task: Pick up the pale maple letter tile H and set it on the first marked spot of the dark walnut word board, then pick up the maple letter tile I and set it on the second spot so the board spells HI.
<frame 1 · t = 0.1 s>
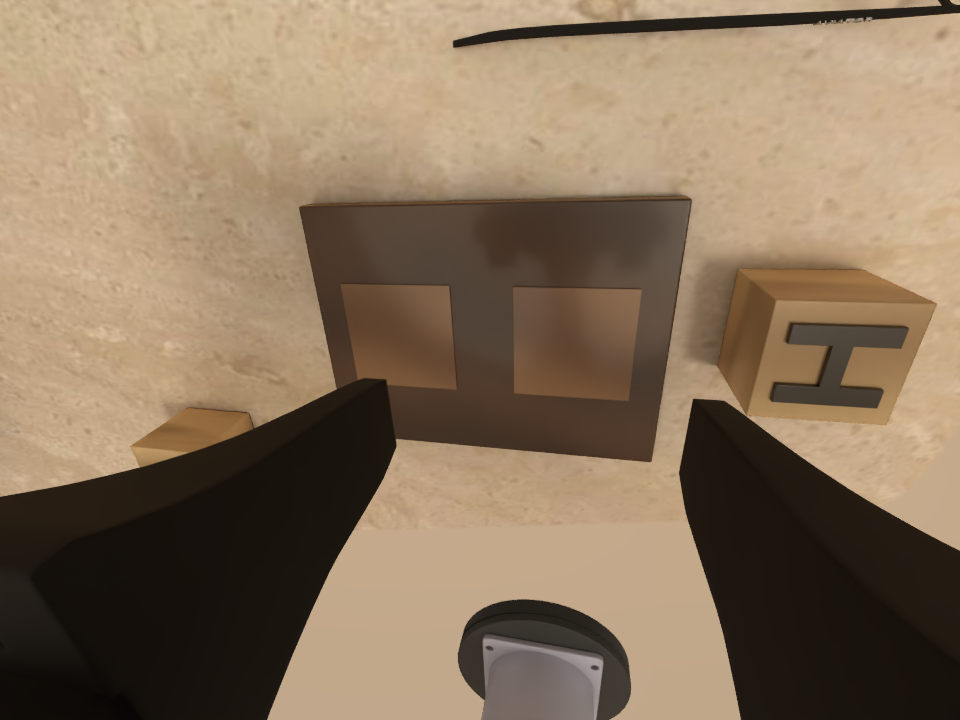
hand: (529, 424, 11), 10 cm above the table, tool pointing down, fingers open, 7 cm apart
word board: (487, 332, 21), on the table
tile H: (785, 321, 18), on the table
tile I: (227, 439, 28), on the table
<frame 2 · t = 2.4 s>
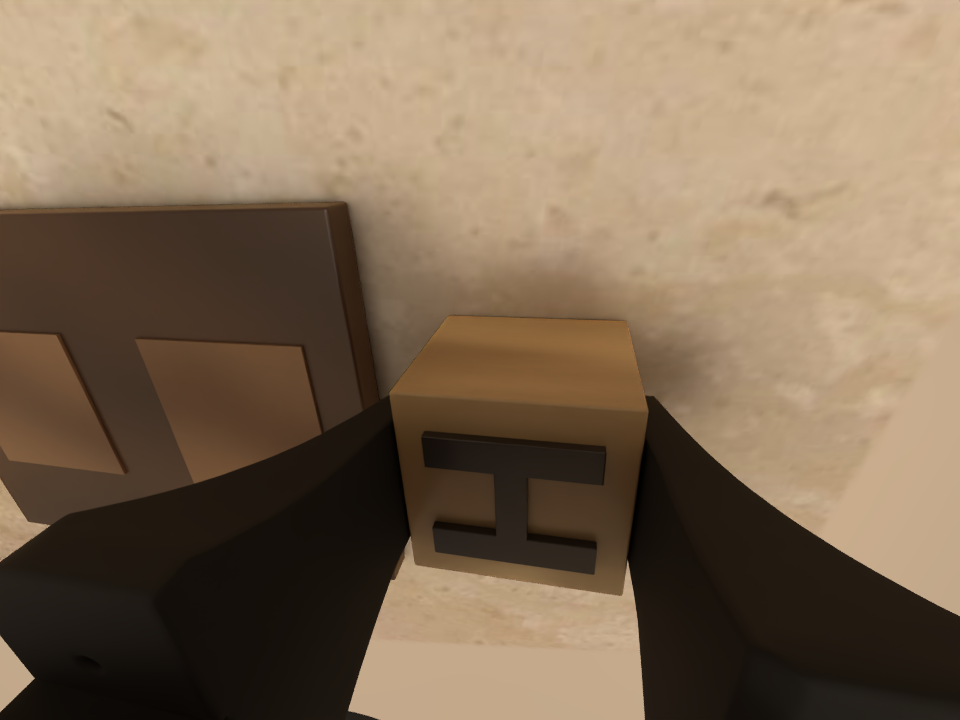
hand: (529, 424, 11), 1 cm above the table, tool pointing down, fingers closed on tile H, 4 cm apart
word board: (158, 396, 15), on the table
tile H: (533, 394, 12), on the table, touching gripper
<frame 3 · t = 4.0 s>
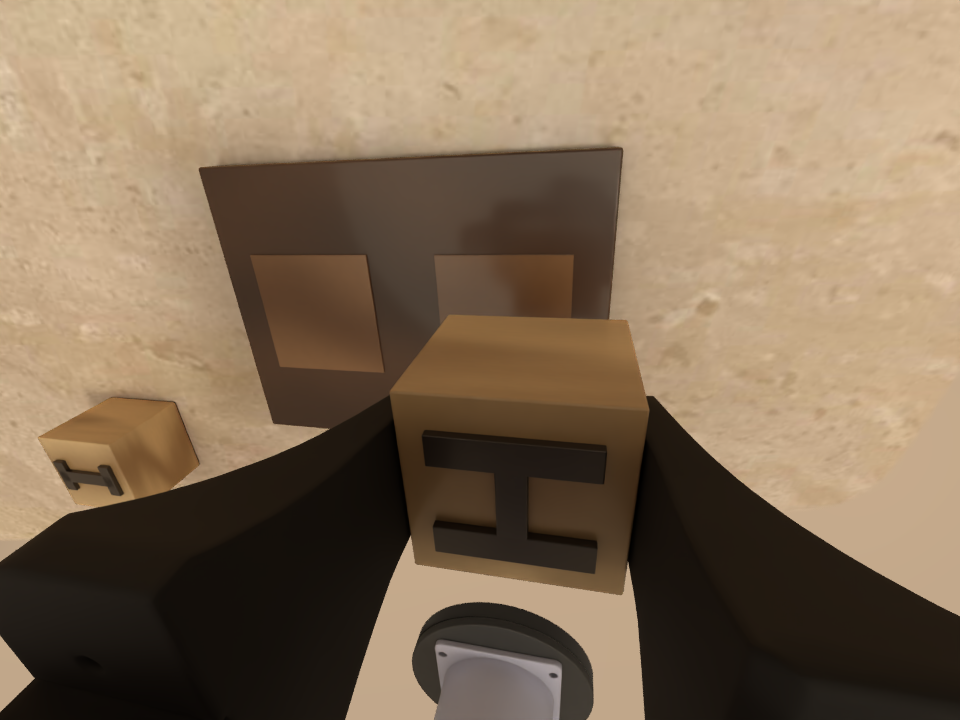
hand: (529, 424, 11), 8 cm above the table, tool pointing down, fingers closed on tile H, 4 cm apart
word board: (415, 309, 19), on the table
tile H: (533, 394, 12), point 7 cm above the table, touching gripper
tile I: (156, 431, 26), on the table
when the fingers open (2 cm above the table, at t = 6.1 s): tile H stays where it is, resting on word board.
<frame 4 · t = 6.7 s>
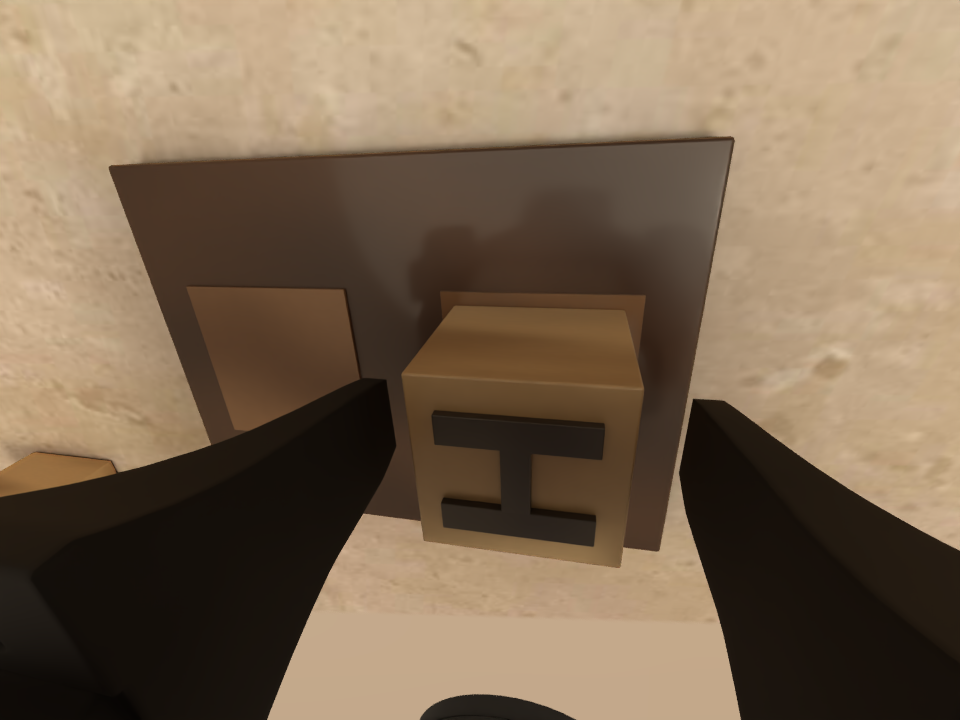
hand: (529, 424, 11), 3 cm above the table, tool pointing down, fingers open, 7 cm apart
word board: (414, 359, 14), on the table
tile H: (535, 382, 12), point 1 cm above the table, touching word board
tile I: (92, 493, 21), on the table
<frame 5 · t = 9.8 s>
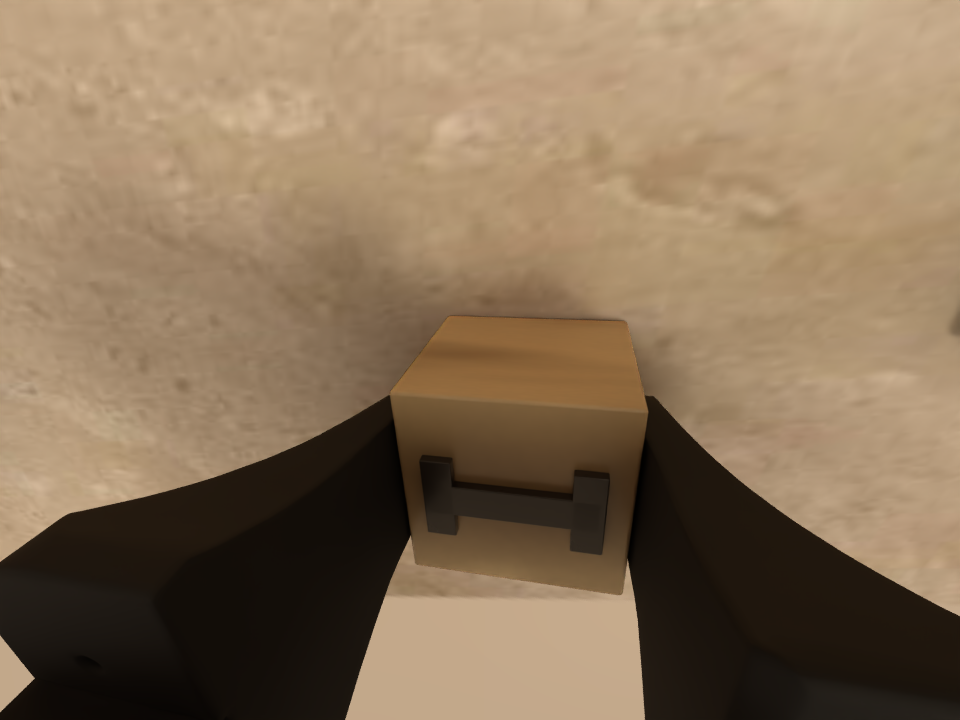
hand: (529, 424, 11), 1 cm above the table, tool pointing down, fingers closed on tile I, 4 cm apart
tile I: (533, 394, 12), on the table, touching gripper
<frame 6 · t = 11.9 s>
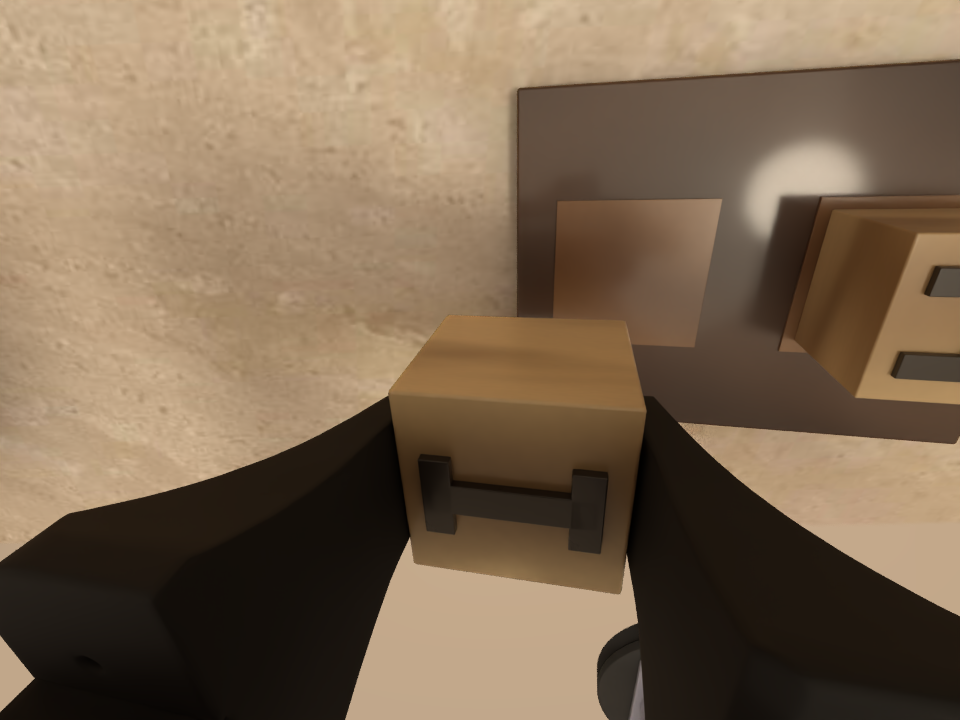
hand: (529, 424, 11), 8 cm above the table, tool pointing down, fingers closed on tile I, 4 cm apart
word board: (742, 270, 16), on the table
tile H: (889, 280, 14), point 1 cm above the table, touching word board
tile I: (532, 394, 12), point 7 cm above the table, touching gripper
when the fingers open (2 cm above the table, at t = 14.1 s): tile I stays where it is, resting on word board.
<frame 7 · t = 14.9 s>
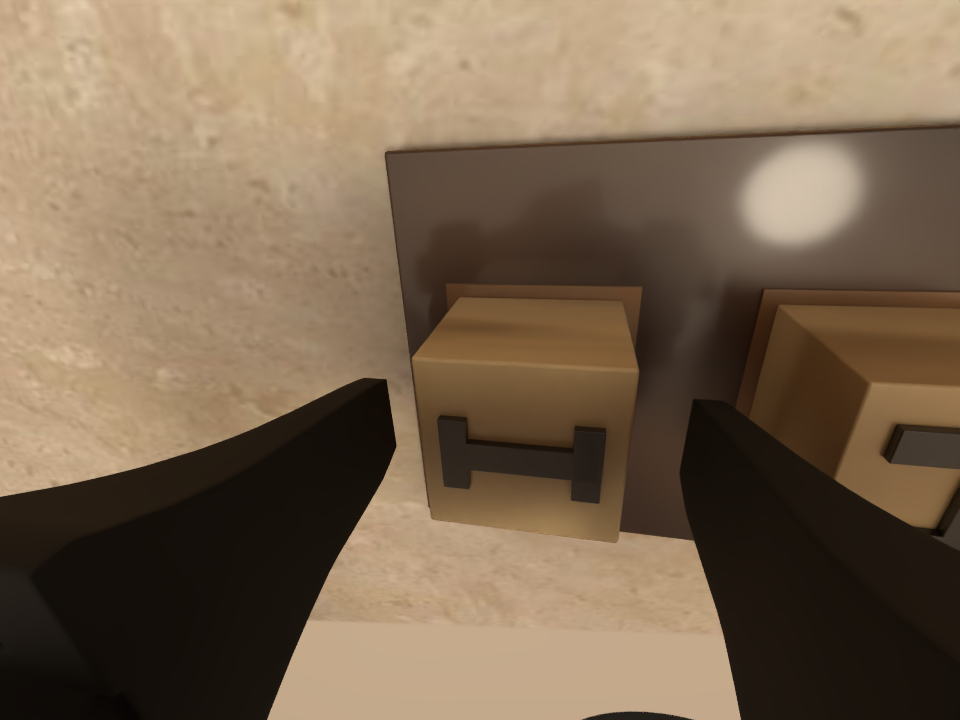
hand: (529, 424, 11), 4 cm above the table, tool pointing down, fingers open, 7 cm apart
word board: (677, 362, 13), on the table
tile H: (852, 388, 11), point 1 cm above the table, touching word board
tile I: (536, 370, 13), point 1 cm above the table, touching word board
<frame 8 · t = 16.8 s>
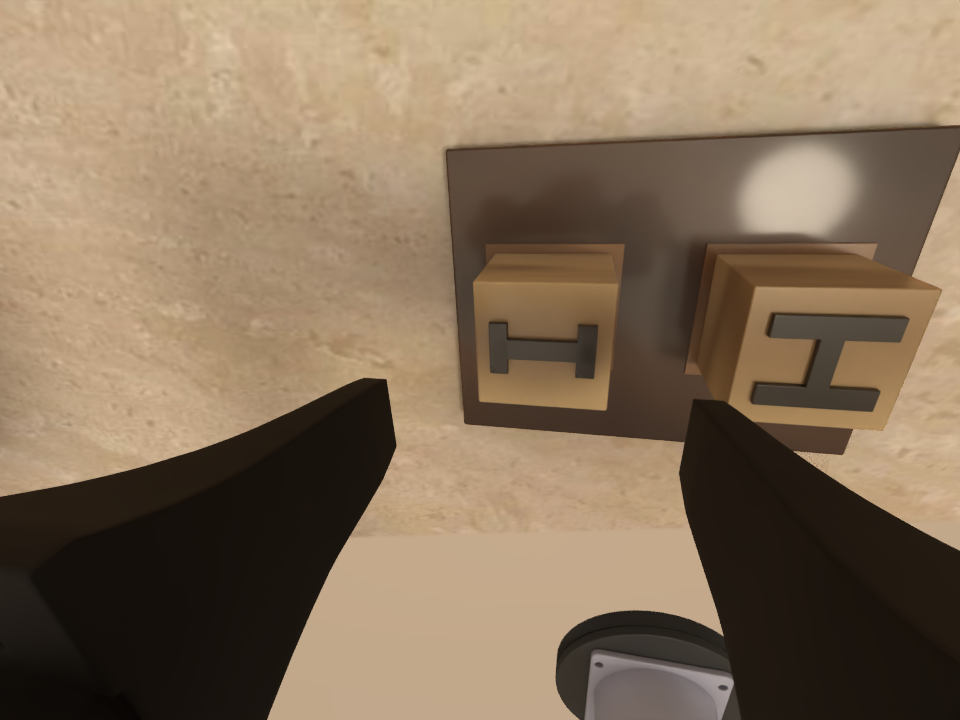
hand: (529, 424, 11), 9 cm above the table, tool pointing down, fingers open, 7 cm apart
word board: (652, 303, 18), on the table
tile H: (770, 314, 16), point 1 cm above the table, touching word board
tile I: (550, 308, 18), point 1 cm above the table, touching word board
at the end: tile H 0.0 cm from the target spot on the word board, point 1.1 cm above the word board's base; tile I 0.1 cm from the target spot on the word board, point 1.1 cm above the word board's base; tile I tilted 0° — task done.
